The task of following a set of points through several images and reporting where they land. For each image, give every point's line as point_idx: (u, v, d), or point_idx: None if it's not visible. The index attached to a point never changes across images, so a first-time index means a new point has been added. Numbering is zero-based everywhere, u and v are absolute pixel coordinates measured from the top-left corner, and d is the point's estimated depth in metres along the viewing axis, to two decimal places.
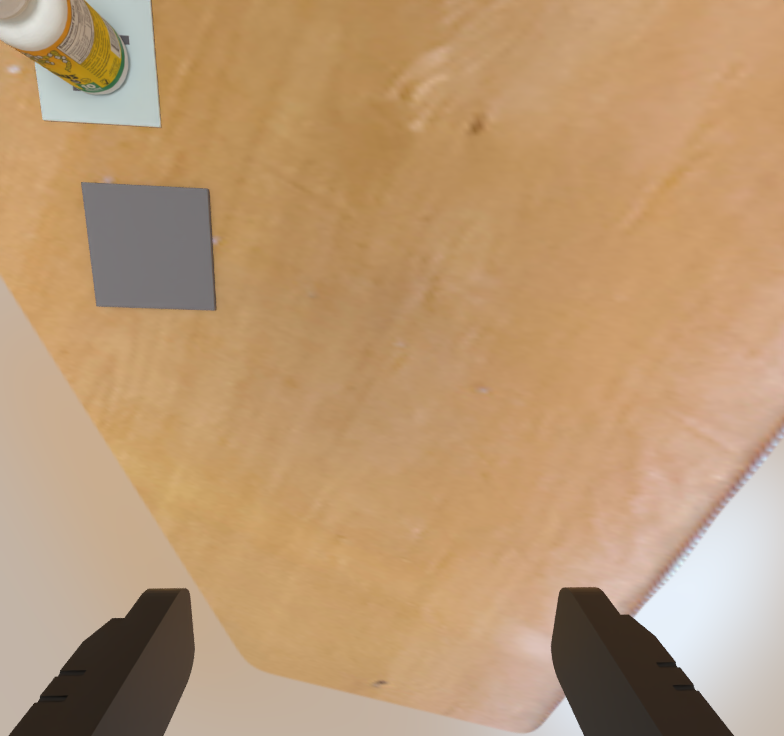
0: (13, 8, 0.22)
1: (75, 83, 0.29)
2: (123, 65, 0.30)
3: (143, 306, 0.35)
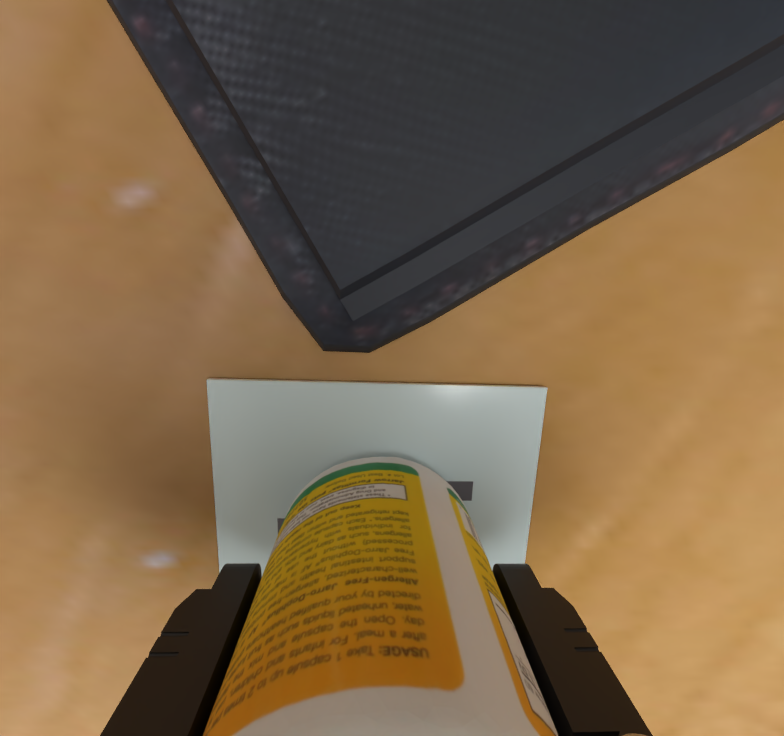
0: None
1: None
2: None
3: None
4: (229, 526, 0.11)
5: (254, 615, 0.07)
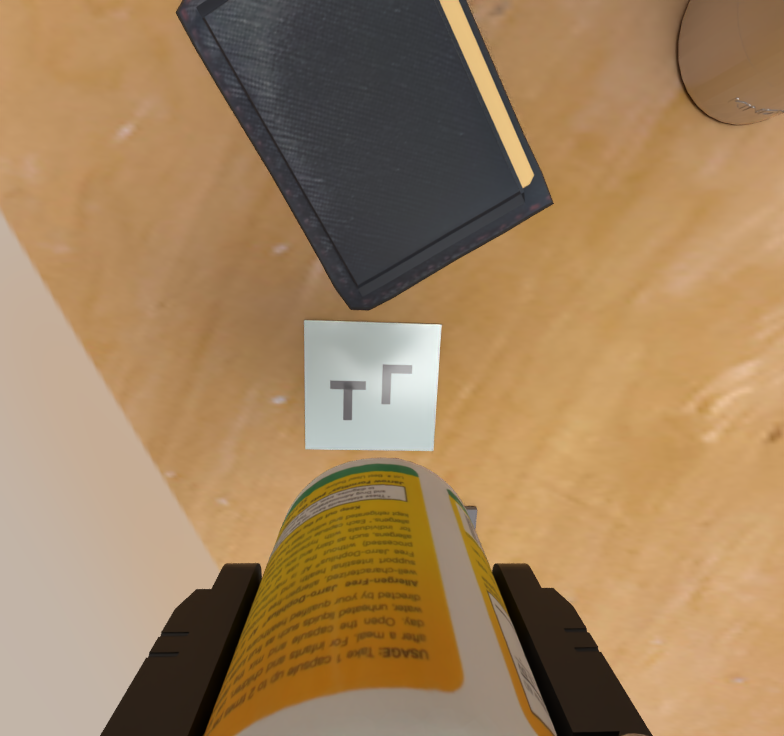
0: None
1: None
2: None
3: None
4: (309, 384, 0.27)
5: (254, 616, 0.07)
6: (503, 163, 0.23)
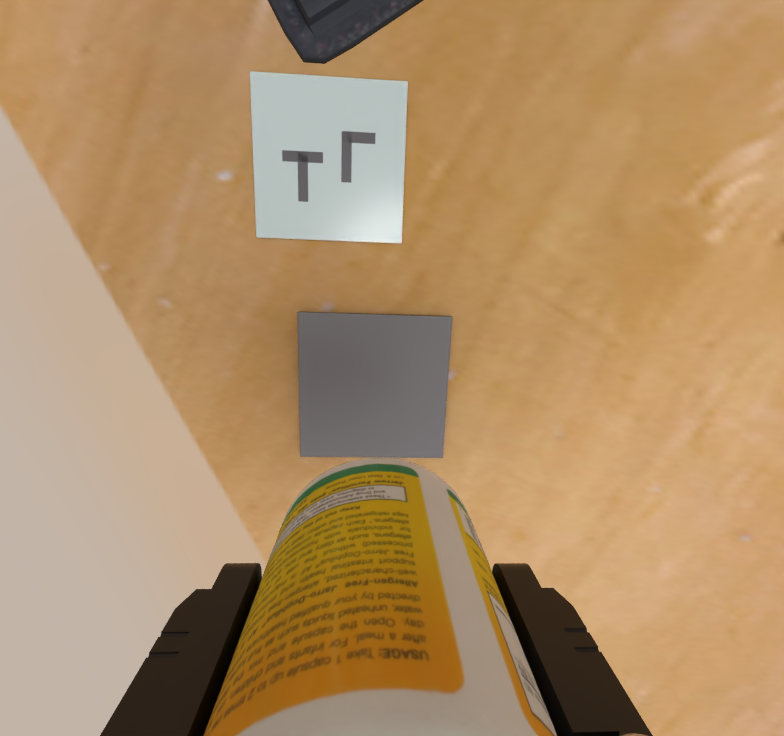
0: None
1: None
2: None
3: (356, 455, 0.28)
4: (258, 156, 0.24)
5: (254, 617, 0.07)
6: None
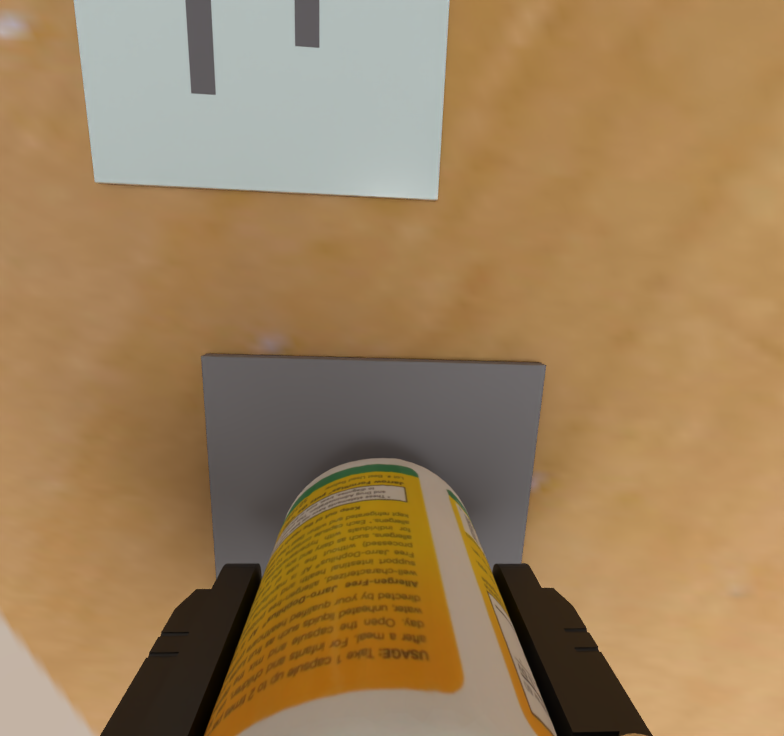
0: None
1: None
2: None
3: None
4: None
5: (254, 617, 0.07)
6: None
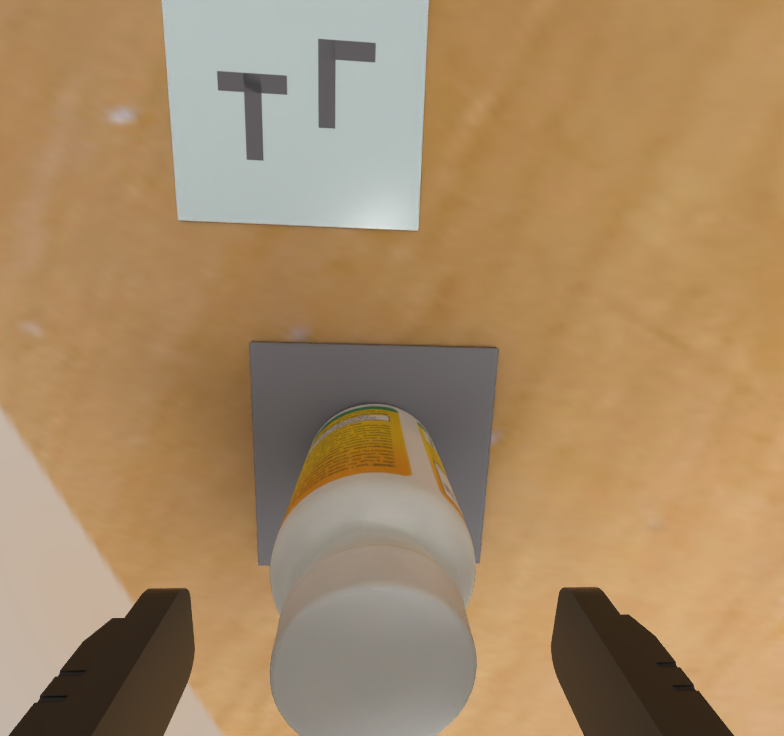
0: None
1: None
2: None
3: None
4: (178, 83, 0.14)
5: (303, 474, 0.12)
6: None
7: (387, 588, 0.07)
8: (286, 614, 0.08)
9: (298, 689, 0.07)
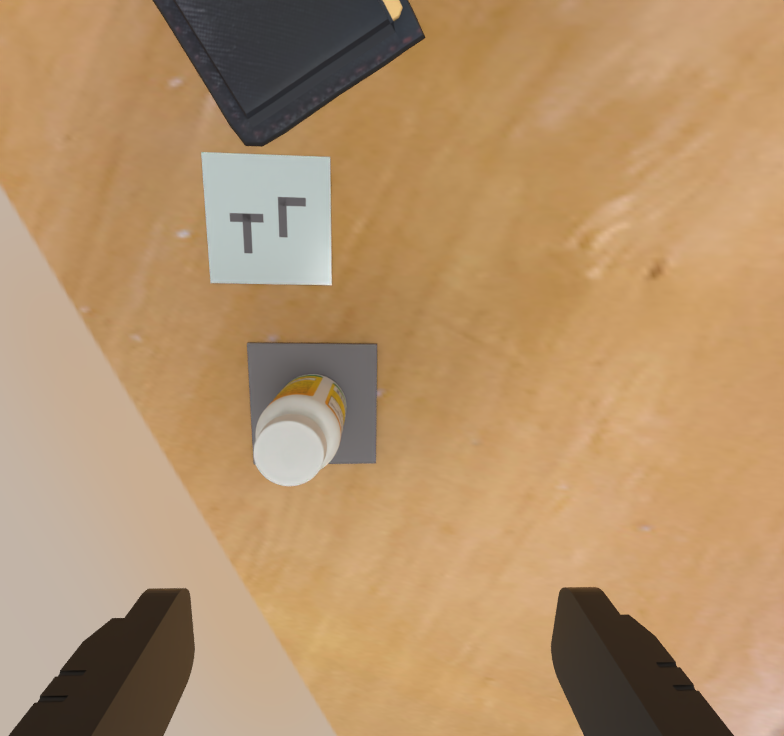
0: None
1: None
2: None
3: None
4: (210, 218, 0.29)
5: None
6: None
7: (290, 421, 0.22)
8: (259, 434, 0.23)
9: (263, 458, 0.22)
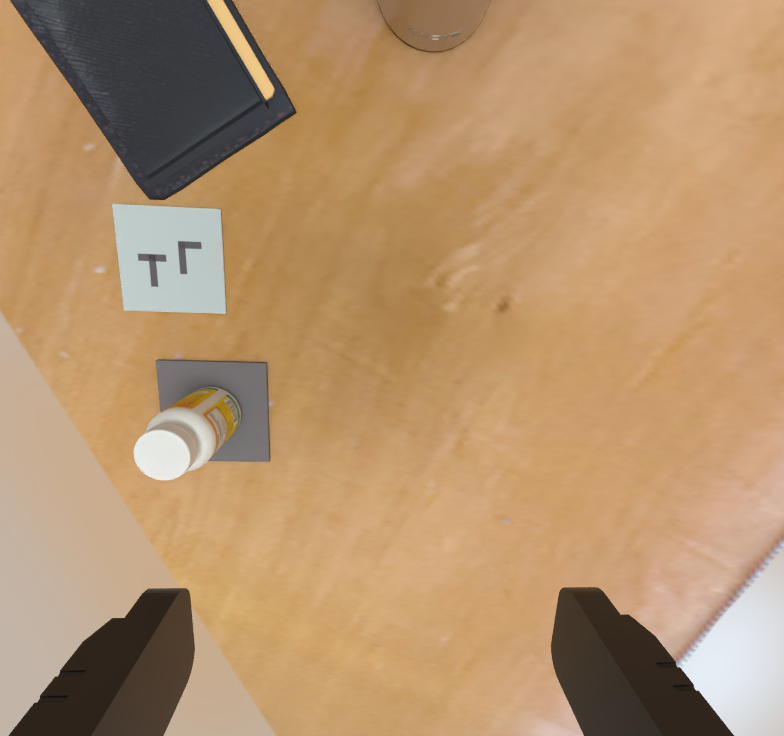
0: None
1: None
2: (238, 422, 0.37)
3: None
4: (122, 257, 0.35)
5: None
6: (244, 78, 0.31)
7: (162, 430, 0.28)
8: None
9: (141, 458, 0.29)
